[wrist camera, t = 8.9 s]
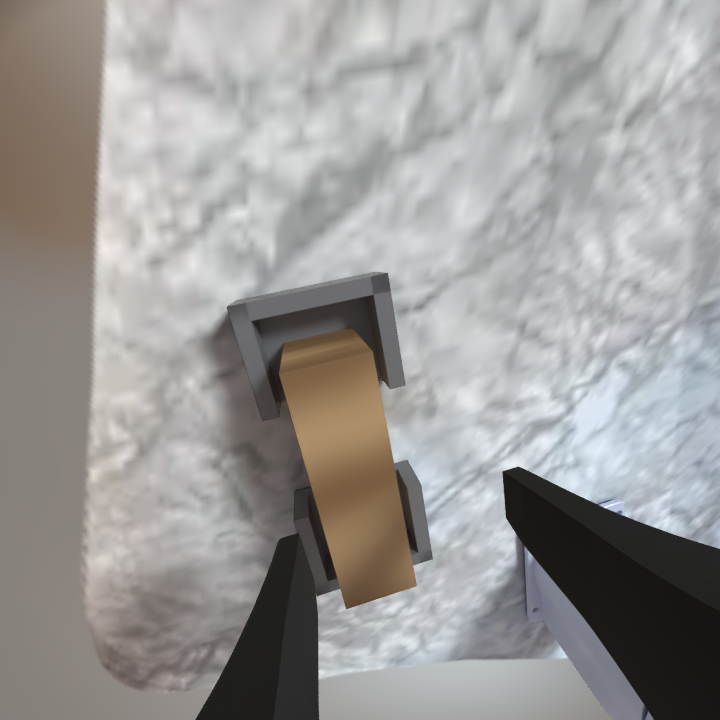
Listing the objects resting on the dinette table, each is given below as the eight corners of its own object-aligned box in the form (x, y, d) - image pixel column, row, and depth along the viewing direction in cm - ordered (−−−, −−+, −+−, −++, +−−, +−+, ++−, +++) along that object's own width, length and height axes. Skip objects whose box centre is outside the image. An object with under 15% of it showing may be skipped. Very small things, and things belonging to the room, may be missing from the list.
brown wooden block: (389, 512, 21) (416, 585, 16) (334, 528, 20) (346, 609, 16) (351, 327, 17) (372, 351, 12) (284, 342, 17) (279, 374, 12)
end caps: (418, 529, 22) (432, 559, 20) (315, 560, 22) (317, 595, 19) (375, 271, 17) (387, 272, 15) (236, 300, 16) (226, 306, 14)
